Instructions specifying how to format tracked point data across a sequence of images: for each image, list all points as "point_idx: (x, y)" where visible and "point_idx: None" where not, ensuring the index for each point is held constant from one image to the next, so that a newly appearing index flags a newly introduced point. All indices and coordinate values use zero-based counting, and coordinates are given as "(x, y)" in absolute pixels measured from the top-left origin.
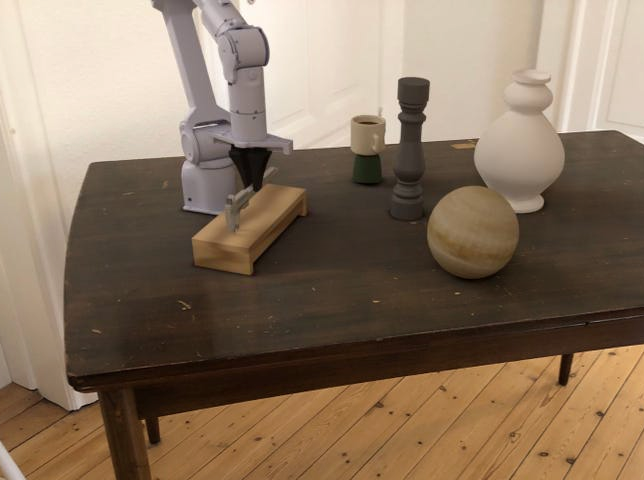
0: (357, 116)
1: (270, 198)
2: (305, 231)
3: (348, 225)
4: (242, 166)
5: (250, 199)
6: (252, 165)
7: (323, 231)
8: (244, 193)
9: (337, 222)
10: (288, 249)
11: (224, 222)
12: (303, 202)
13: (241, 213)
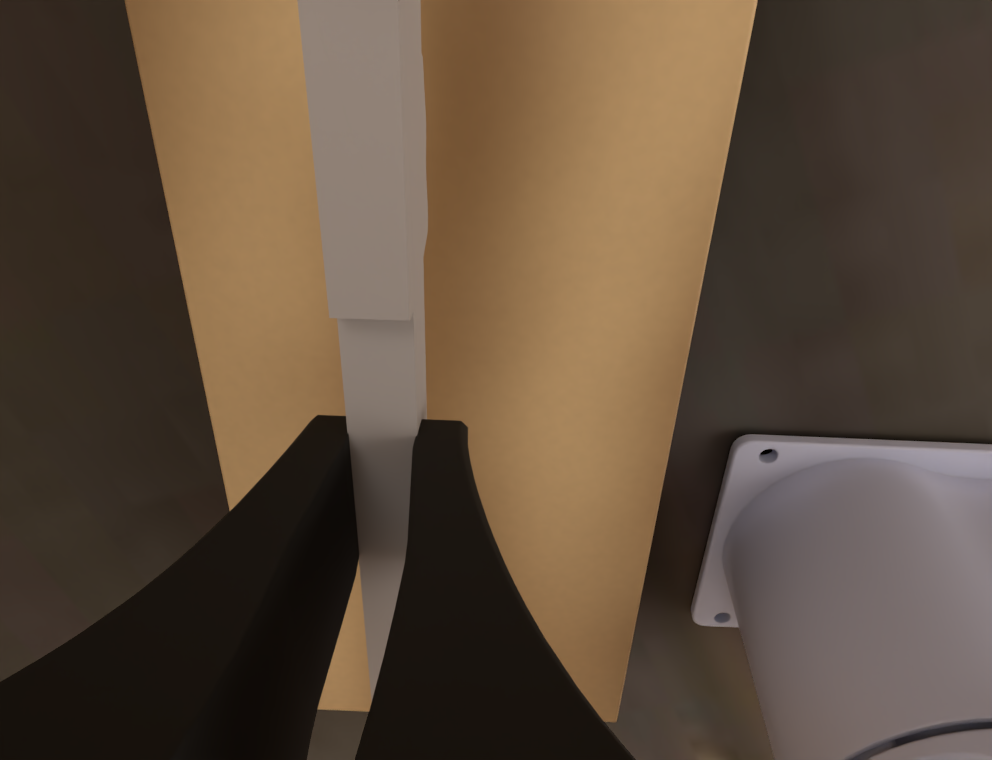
0: None
1: None
2: (197, 396)
3: (22, 518)
4: (405, 630)
5: (555, 510)
6: (184, 654)
7: (100, 423)
8: (322, 219)
9: (98, 533)
10: (147, 126)
11: (608, 26)
12: None
13: (522, 268)
